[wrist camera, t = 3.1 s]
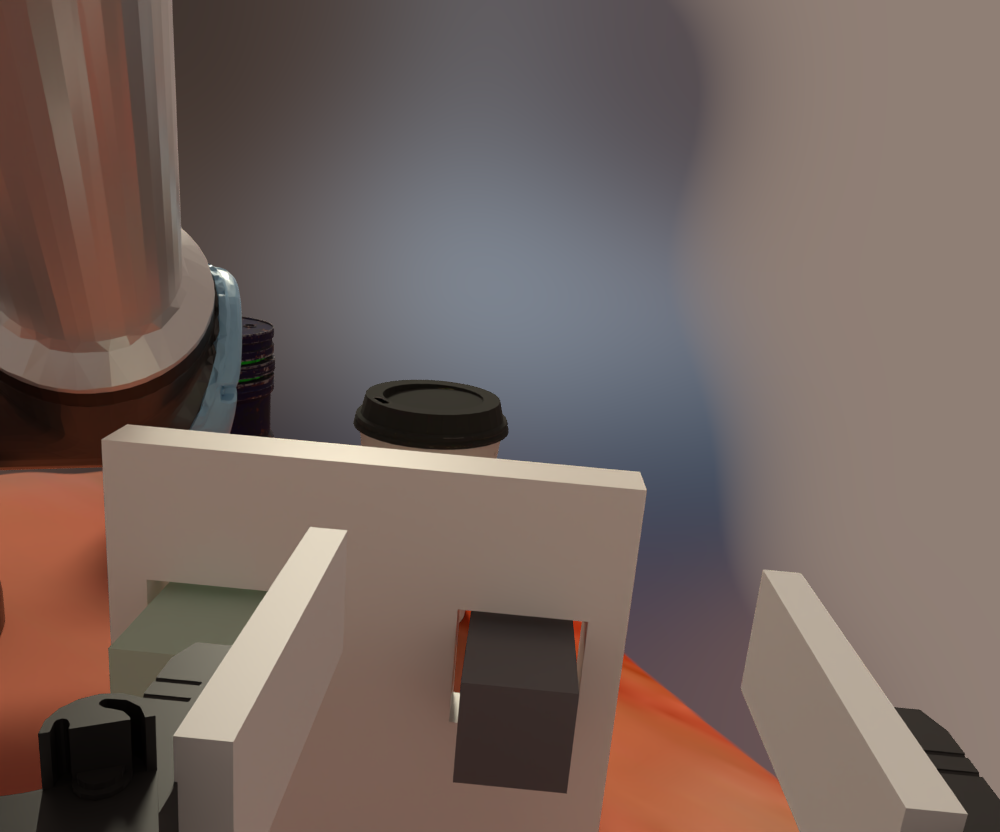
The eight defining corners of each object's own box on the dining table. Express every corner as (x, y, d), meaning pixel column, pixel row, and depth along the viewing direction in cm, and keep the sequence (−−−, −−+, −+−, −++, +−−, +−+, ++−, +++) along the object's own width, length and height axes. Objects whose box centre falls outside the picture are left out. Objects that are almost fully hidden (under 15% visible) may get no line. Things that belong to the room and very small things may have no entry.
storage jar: (155, 518, 67) (150, 335, 63) (153, 476, 75) (148, 313, 71) (281, 508, 71) (284, 336, 67) (265, 469, 79) (267, 315, 75)
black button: (452, 782, 29) (460, 682, 28) (466, 682, 35) (473, 597, 34) (566, 793, 29) (579, 694, 28) (561, 692, 35) (571, 606, 34)
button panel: (120, 842, 35) (101, 439, 30) (178, 750, 41) (170, 399, 36) (590, 889, 35) (646, 490, 30) (582, 790, 41) (628, 441, 36)
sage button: (113, 748, 29) (108, 648, 28) (182, 655, 35) (181, 569, 34) (225, 759, 29) (225, 659, 28) (276, 664, 35) (278, 578, 34)
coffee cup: (520, 626, 55) (542, 410, 51) (387, 663, 50) (400, 424, 46) (445, 565, 63) (459, 373, 59) (323, 592, 57) (329, 382, 53)
